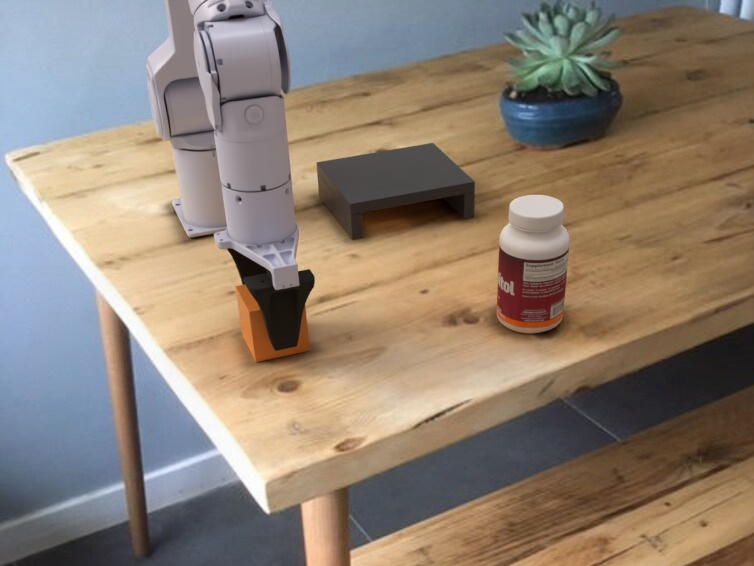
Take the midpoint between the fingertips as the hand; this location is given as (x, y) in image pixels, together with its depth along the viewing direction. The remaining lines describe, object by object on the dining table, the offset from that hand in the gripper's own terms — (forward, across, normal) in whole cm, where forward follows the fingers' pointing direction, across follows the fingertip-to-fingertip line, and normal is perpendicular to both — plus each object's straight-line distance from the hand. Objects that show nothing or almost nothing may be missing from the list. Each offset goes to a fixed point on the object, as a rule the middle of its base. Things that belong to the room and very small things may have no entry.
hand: (273, 326), depth 93 cm
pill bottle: (+2, +5, +23) cm, 24 cm away
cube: (+2, 0, 0) cm, 2 cm away
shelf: (+2, -23, +20) cm, 31 cm away
